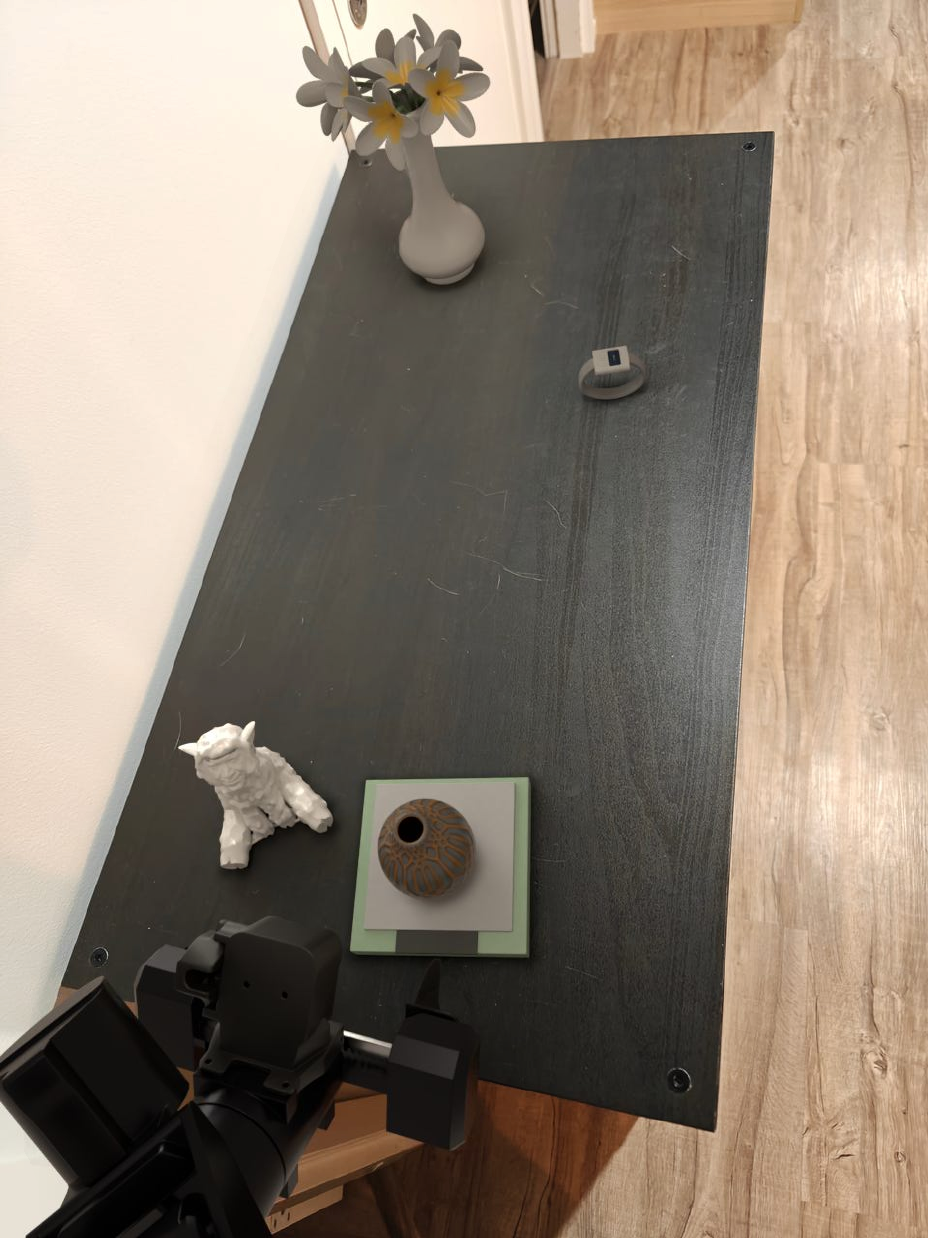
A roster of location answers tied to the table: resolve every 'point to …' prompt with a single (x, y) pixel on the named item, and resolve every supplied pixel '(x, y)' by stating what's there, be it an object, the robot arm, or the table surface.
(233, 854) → the sitting furry creature
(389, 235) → the table surface
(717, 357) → the table surface
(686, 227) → the table surface
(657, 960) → the table surface
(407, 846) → the vase
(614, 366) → the wristwatch
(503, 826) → the scale
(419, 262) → the flower vase
